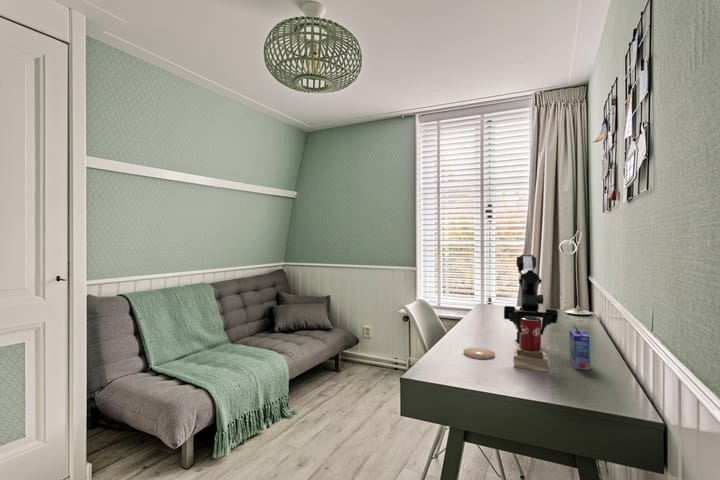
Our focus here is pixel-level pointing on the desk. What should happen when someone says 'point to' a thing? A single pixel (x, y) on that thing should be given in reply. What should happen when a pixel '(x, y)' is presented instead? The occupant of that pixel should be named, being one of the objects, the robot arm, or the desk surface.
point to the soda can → (530, 334)
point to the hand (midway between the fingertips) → (530, 333)
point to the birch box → (530, 360)
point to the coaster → (479, 353)
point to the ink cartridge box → (579, 349)
